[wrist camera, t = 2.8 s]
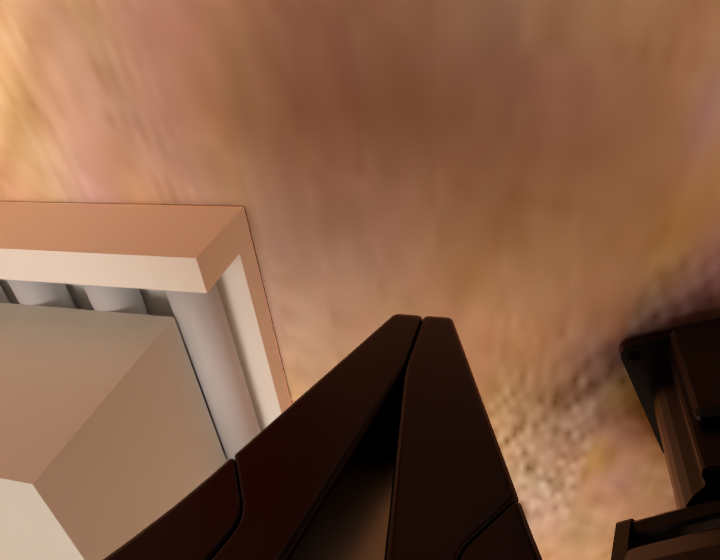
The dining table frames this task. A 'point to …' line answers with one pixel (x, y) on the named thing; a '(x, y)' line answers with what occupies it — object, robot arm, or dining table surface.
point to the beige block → (94, 429)
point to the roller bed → (159, 290)
